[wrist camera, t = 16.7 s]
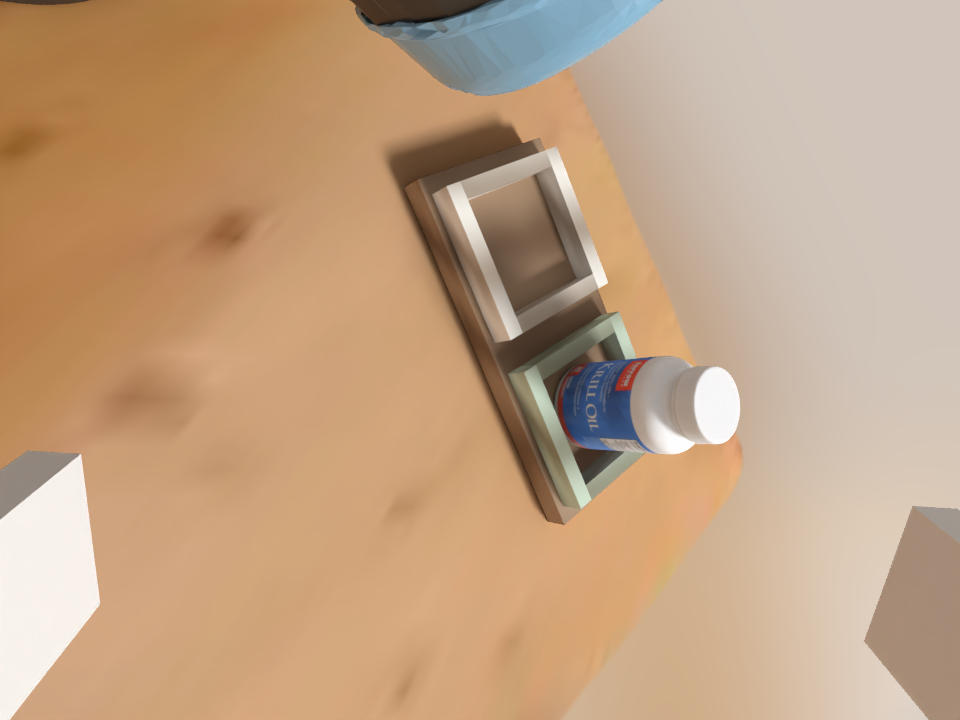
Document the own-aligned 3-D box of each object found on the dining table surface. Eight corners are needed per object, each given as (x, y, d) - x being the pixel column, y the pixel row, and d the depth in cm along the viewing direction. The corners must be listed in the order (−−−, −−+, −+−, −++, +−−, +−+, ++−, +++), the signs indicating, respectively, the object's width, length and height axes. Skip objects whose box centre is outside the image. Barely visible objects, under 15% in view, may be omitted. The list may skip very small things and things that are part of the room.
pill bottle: (559, 352, 39) (693, 334, 31) (617, 377, 42) (753, 366, 34) (543, 439, 38) (679, 443, 30) (605, 458, 40) (743, 466, 32)
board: (404, 188, 35) (431, 170, 33) (524, 146, 40) (556, 128, 38) (548, 521, 39) (581, 528, 37) (639, 442, 45) (674, 443, 42)
